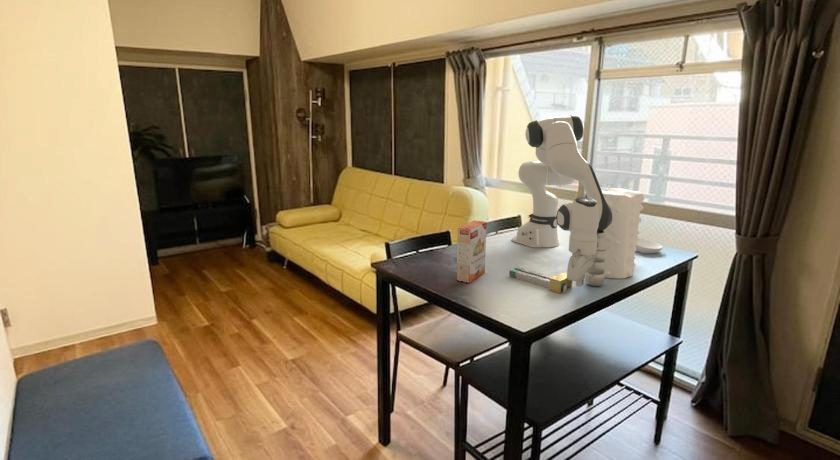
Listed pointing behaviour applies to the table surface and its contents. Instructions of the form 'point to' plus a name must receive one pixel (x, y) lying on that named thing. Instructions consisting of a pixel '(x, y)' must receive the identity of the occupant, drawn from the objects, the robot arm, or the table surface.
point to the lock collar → (559, 282)
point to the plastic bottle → (598, 263)
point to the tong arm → (533, 273)
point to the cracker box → (471, 251)
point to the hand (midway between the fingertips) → (579, 285)
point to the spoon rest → (647, 246)
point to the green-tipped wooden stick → (534, 279)
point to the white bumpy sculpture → (622, 231)
